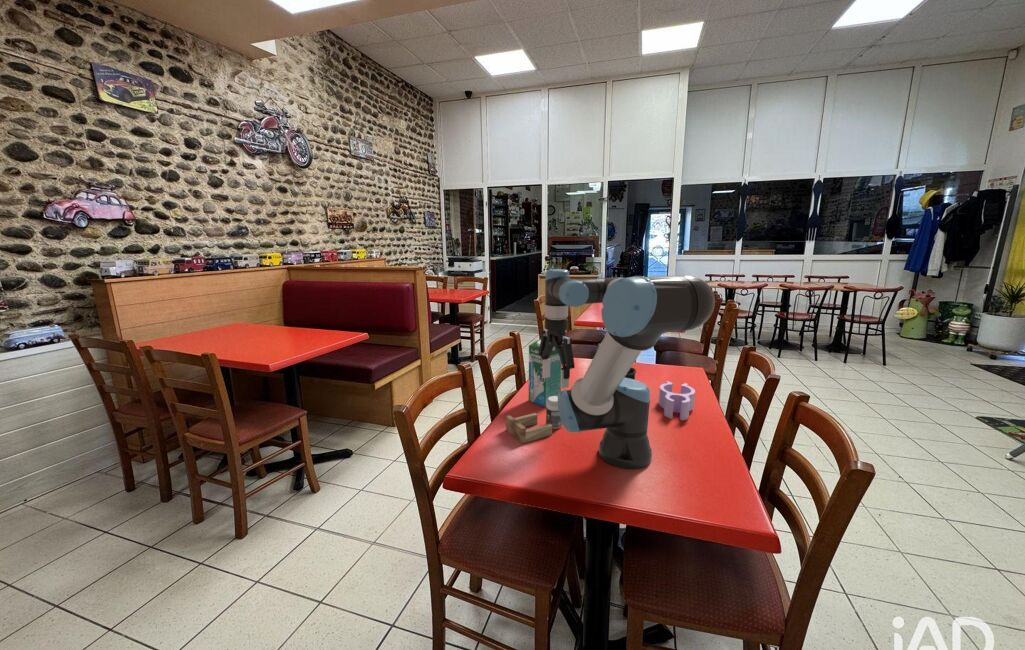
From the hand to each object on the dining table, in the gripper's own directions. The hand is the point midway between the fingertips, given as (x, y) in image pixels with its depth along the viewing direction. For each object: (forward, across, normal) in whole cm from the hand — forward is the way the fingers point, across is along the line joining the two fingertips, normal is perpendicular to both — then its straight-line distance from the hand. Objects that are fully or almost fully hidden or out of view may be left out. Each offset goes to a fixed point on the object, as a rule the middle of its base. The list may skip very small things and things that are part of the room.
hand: (555, 382), depth 135 cm
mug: (+16, +8, -36) cm, 40 cm away
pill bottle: (+16, 0, 0) cm, 16 cm away
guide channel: (+16, 0, +10) cm, 18 cm away
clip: (+16, -11, -48) cm, 52 cm away
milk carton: (+16, +19, -8) cm, 26 cm away
